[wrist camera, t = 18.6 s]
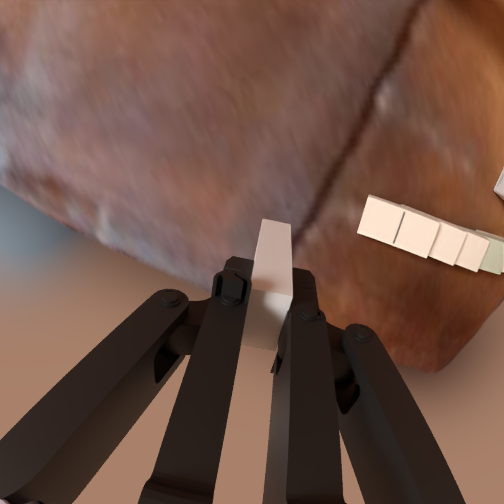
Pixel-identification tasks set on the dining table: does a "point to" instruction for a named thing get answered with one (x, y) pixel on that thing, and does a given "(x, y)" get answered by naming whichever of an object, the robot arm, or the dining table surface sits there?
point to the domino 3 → (472, 250)
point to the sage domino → (492, 254)
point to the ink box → (500, 185)
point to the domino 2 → (446, 241)
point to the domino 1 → (398, 226)
